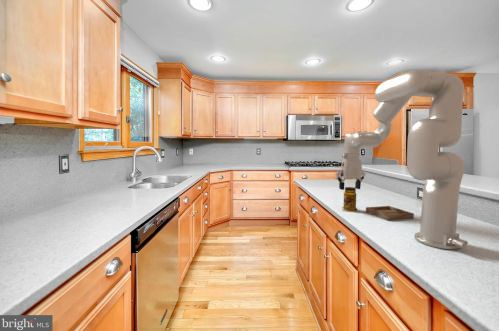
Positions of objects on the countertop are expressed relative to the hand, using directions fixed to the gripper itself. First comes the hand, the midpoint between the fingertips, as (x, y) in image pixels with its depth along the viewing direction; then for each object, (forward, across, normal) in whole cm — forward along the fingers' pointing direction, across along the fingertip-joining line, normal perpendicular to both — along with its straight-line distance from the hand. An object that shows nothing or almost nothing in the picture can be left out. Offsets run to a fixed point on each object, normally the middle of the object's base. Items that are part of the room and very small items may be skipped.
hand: (349, 189), depth 121 cm
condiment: (+11, 0, -1) cm, 11 cm away
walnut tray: (+10, +12, -14) cm, 21 cm away
